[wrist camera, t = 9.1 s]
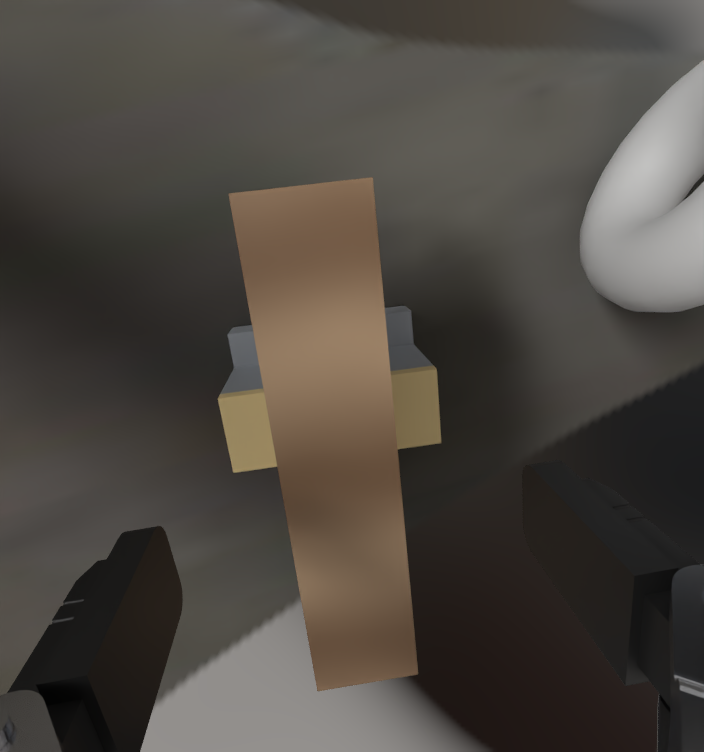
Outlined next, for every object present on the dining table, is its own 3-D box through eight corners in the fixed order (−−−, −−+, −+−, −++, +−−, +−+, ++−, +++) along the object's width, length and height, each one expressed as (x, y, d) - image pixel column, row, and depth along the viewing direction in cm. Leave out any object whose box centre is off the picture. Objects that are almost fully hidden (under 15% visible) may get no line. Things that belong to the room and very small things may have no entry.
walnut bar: (248, 202, 15) (228, 193, 11) (356, 190, 15) (372, 177, 12) (315, 603, 20) (317, 691, 16) (397, 590, 20) (418, 674, 16)
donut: (647, 56, 20) (954, -99, 11) (709, 97, 21) (1048, -14, 11) (527, 275, 22) (689, 311, 13) (586, 306, 23) (781, 360, 14)
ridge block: (232, 327, 22) (209, 358, 17) (404, 305, 22) (434, 329, 17) (255, 445, 24) (240, 507, 18) (413, 423, 24) (443, 477, 19)
